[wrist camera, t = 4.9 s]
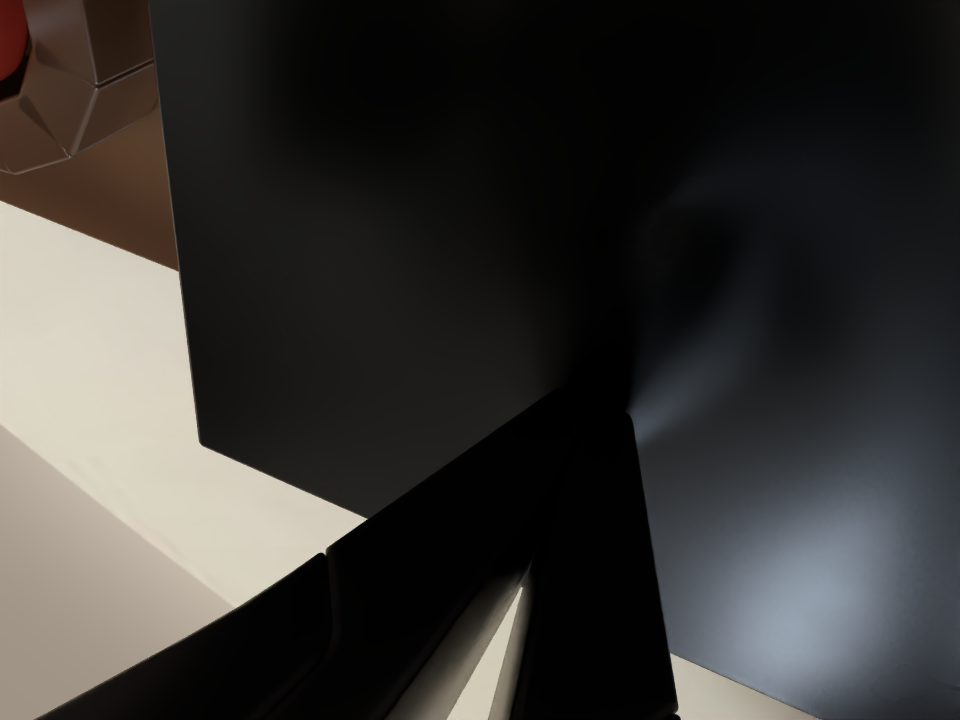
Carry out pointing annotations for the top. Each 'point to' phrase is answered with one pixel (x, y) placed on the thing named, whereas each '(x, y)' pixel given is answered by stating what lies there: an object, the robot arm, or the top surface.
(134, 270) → the top surface
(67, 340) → the top surface
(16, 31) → the button
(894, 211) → the cooker lid
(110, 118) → the control block
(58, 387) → the top surface
